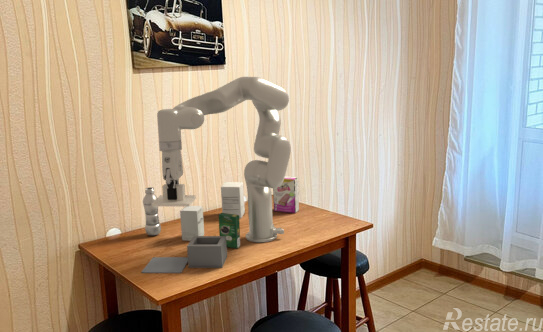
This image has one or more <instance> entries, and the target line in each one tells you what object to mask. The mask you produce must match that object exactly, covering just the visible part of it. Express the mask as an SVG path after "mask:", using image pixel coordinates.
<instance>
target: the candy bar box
mask: <svg viewBox="0 0 543 332" xmlns="http://www.w3.org/2000/svg"><path fill="white" fill-rule="evenodd" d="M272 192H273V193H272V199H273V211H274V212H280V213H290V214H297V213H298V212H299V210H300V201H299V200H300V199H299V198H300V197H299V196H300V195H299V193H300V189H299V176H290V175H289V176H286V175H285V178H284V180H283V183H282V184H281V185H280V186H279V187H277V188H272Z"/></svg>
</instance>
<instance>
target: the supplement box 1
mask: <svg viewBox="0 0 543 332" xmlns="http://www.w3.org/2000/svg"><path fill="white" fill-rule="evenodd" d="M203 209H204V208H203V206H202V205H190V206H189V207H182V209H181V210H180V211H179V212H180V213H179V216H180V228H181V240H182V241H188V242H190V241H191V240H192V238H193V237H194V236H205V225H204V224H205V223H204V210H203Z"/></svg>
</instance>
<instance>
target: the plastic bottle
mask: <svg viewBox="0 0 543 332" xmlns="http://www.w3.org/2000/svg"><path fill="white" fill-rule="evenodd" d="M157 198H158V196H157V195H156V194H155V187H151V186H150V187H145V188H144V197H143V199H142V204H143V205H142V206H143V208H144V215H145V225H144V226H145V228H144V230H145V233H146V235H148V236H157V235H160V233H161V231H162V226H161V222H160V218H159V206H152V204H151V203H153V202H154V201H155V200H156V199H157Z"/></svg>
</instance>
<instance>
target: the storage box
mask: <svg viewBox="0 0 543 332" xmlns="http://www.w3.org/2000/svg"><path fill="white" fill-rule="evenodd" d="M186 250H187V257H188V263H187V265H188V268H190V269H192V268H195V269H196V268H198V269H200V268H201V269H202V268H204V269H207V268H208V269H211V268H213V269H217V268H219V269H223V267H224V265H225V263H226V262H227V261H226V260H227V258H228V247H227V243H226V236H219V235H203V236H194V237H193V238H192V240H191V241H189V242H188V244H187V245H186Z"/></svg>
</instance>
